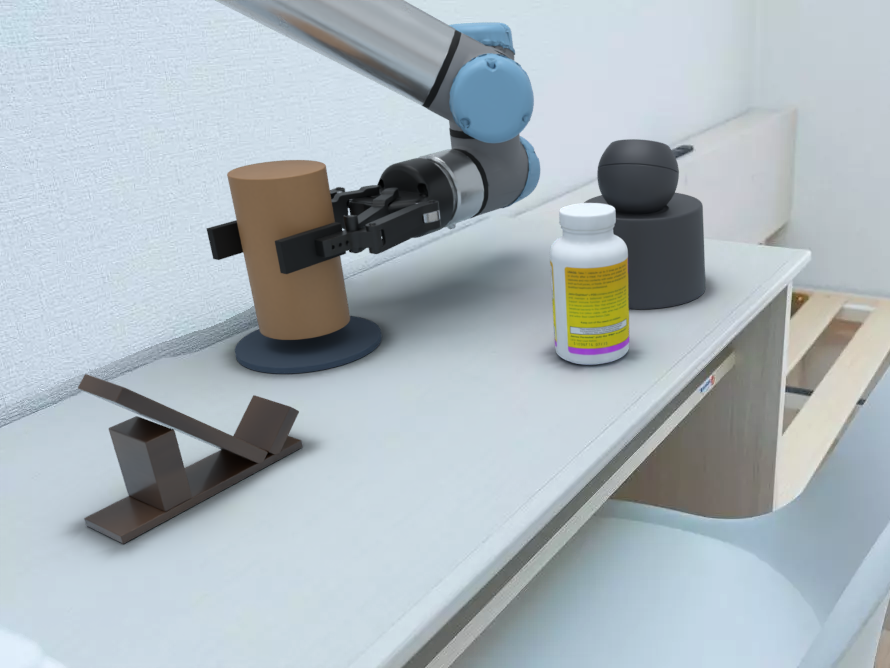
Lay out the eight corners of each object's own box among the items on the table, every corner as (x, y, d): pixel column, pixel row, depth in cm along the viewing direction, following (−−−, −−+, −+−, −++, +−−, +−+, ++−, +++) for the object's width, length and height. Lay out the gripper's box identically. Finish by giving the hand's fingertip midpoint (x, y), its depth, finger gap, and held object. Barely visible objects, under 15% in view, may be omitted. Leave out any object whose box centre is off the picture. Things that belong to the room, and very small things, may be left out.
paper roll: (151, 277, 72) (237, 118, 76) (284, 355, 85) (352, 216, 89) (213, 292, 68) (300, 123, 72) (342, 371, 81) (411, 225, 85)
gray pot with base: (718, 121, 93) (699, 146, 81) (713, 268, 100) (696, 312, 88) (594, 120, 96) (557, 144, 84) (598, 263, 103) (564, 305, 91)
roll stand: (85, 525, 56) (41, 390, 52) (269, 433, 67) (244, 314, 63) (123, 544, 54) (79, 404, 50) (306, 445, 65) (282, 324, 61)
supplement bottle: (644, 355, 78) (643, 210, 73) (581, 374, 75) (575, 223, 70) (601, 333, 84) (597, 195, 78) (540, 349, 80) (532, 207, 75)
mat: (205, 356, 81) (203, 350, 81) (315, 312, 91) (314, 306, 91) (303, 385, 75) (302, 378, 74) (410, 334, 84) (410, 328, 84)
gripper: (512, 242, 88) (340, 313, 71) (361, 218, 99) (179, 276, 81) (507, 165, 85) (325, 220, 68) (351, 149, 95) (159, 193, 78)
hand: (245, 250), depth 75 cm, fingers closed on paper roll, 8 cm apart
